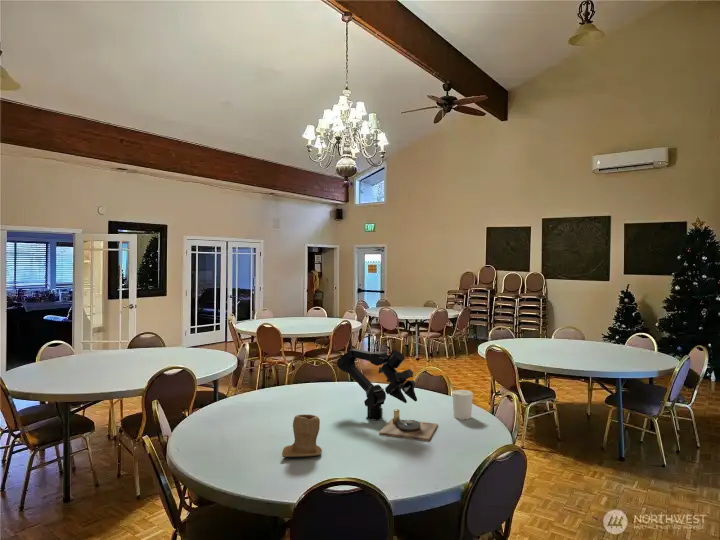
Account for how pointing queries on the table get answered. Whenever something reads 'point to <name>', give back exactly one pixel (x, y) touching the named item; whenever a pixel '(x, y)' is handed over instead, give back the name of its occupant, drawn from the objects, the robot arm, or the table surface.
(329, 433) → the table surface
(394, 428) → the base plate
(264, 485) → the table surface
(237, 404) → the table surface
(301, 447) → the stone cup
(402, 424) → the dial
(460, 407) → the candle holder
